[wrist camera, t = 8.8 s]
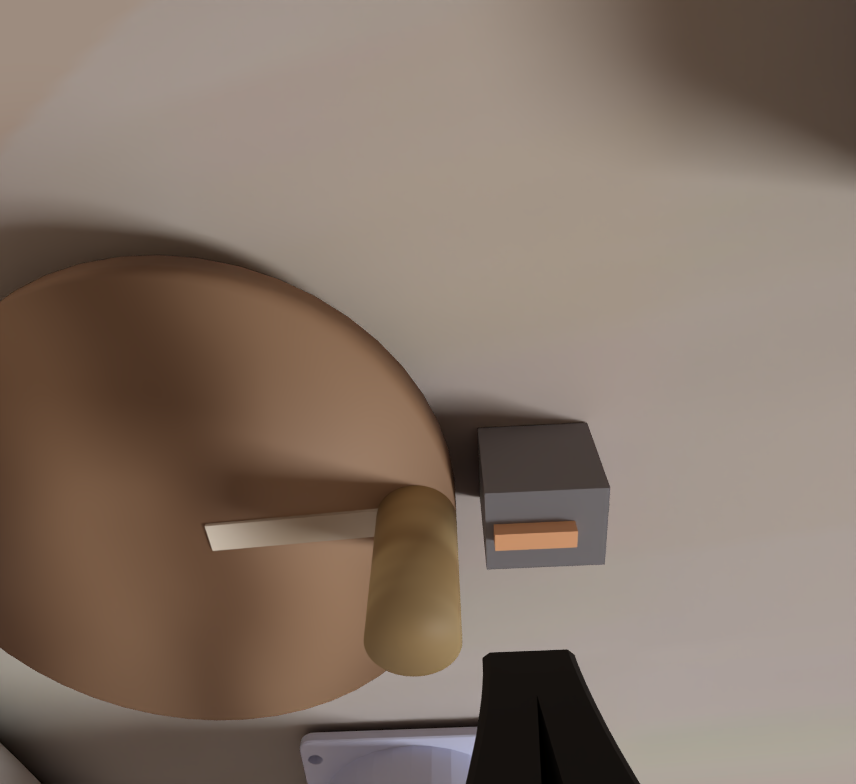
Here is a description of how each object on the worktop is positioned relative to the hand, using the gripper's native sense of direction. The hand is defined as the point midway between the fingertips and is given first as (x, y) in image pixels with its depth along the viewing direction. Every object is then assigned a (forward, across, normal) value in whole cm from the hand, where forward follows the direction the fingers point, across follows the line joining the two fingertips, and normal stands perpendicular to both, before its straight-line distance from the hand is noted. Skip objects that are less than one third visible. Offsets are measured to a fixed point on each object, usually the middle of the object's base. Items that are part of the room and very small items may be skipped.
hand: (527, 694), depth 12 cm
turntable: (+8, +8, +2) cm, 12 cm away
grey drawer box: (+9, -1, +2) cm, 10 cm away
